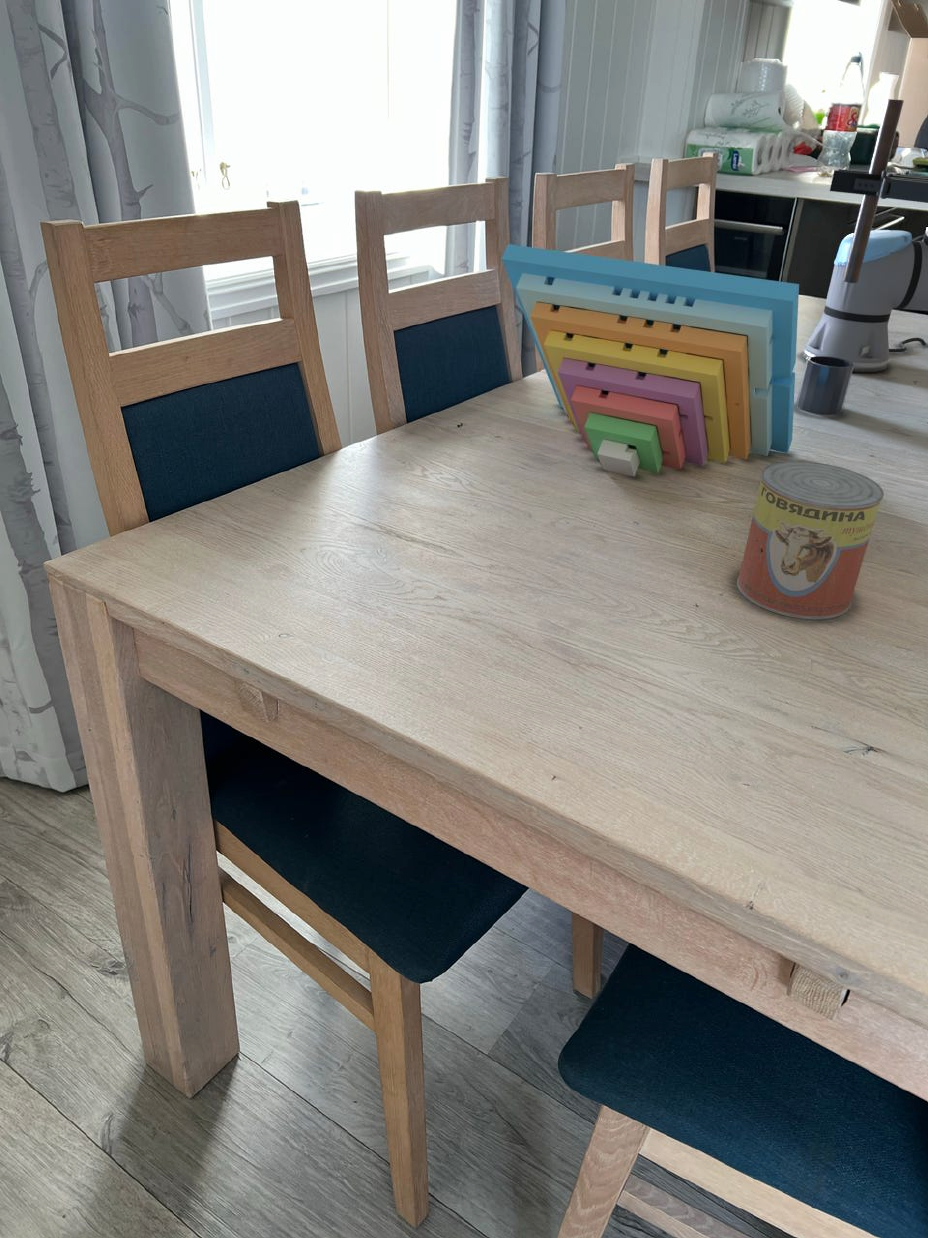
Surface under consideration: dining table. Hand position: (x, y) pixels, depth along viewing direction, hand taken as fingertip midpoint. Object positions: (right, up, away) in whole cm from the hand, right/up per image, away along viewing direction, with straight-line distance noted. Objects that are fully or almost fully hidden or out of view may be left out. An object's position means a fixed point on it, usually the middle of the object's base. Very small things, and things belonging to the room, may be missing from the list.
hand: (834, 179), depth 137 cm
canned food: (-20, -61, -40) cm, 76 cm away
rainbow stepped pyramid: (-29, -41, -6) cm, 50 cm away
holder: (+3, -30, +15) cm, 34 cm away
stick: (+4, -13, +5) cm, 14 cm away
